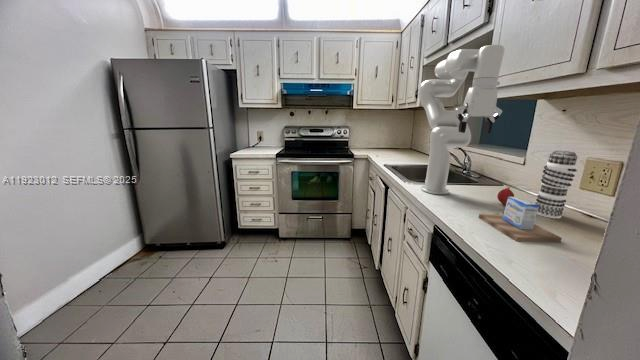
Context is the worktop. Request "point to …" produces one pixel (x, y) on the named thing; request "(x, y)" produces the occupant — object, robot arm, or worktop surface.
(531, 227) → the medicine box
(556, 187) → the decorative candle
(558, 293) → the worktop surface
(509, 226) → the cutting board
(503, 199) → the red oval piece
